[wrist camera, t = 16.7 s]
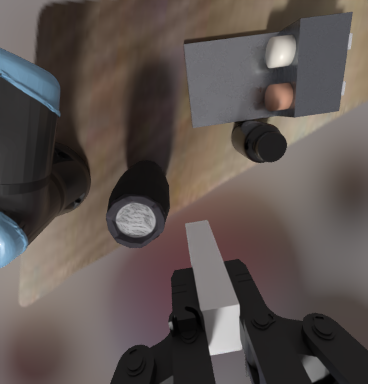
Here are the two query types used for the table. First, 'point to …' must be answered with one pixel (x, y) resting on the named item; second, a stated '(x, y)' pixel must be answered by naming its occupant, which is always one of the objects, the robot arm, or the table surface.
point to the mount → (268, 72)
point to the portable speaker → (138, 205)
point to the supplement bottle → (259, 141)
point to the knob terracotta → (281, 96)
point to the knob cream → (284, 50)
